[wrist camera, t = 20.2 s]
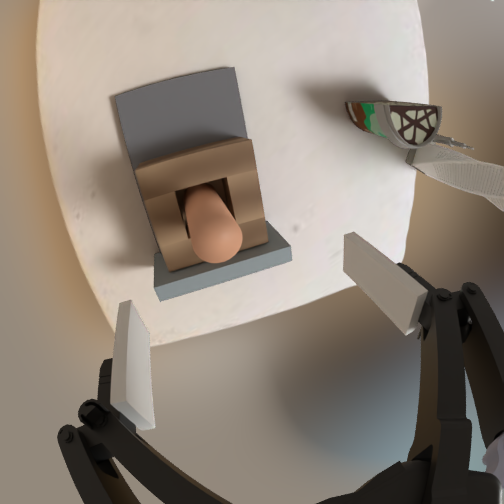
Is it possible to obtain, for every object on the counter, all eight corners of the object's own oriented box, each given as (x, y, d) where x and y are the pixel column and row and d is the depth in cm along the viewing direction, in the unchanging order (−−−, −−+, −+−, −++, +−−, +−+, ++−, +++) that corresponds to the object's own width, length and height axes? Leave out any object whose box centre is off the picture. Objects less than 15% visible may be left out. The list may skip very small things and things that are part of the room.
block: (139, 163, 28) (134, 170, 24) (239, 136, 30) (251, 139, 26) (167, 252, 34) (169, 272, 30) (255, 226, 36) (268, 242, 32)
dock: (108, 99, 24) (90, 94, 18) (240, 67, 27) (262, 53, 20) (159, 266, 36) (160, 301, 29) (269, 233, 39) (292, 260, 32)
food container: (341, 143, 36) (388, 156, 27) (336, 102, 32) (385, 104, 24) (398, 136, 38) (445, 148, 29) (396, 101, 34) (443, 106, 26)
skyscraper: (437, 145, 41) (559, 195, 18) (426, 181, 44) (545, 244, 21) (414, 127, 38) (556, 175, 14) (402, 167, 41) (541, 234, 17)
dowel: (179, 187, 30) (185, 225, 20) (212, 177, 31) (236, 209, 21) (188, 218, 32) (199, 269, 22) (220, 209, 33) (246, 254, 23)
